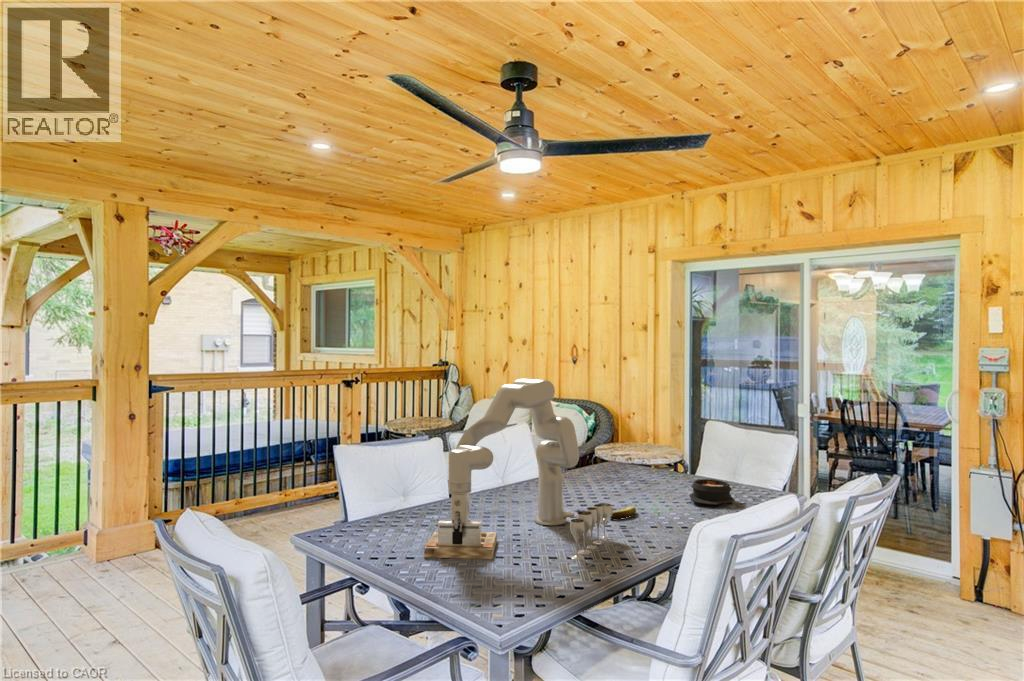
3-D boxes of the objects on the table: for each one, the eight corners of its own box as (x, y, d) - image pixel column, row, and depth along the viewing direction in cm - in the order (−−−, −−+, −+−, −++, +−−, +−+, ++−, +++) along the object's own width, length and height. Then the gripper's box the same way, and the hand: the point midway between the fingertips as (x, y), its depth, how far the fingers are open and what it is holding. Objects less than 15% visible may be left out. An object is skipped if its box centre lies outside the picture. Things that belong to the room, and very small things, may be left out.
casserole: (699, 493, 278) (699, 475, 279) (740, 499, 268) (740, 480, 268) (680, 504, 258) (680, 485, 258) (724, 511, 247) (724, 491, 247)
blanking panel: (481, 550, 195) (481, 521, 195) (480, 553, 193) (480, 524, 193) (439, 549, 196) (439, 520, 196) (437, 552, 194) (437, 523, 194)
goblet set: (582, 561, 189) (582, 519, 189) (565, 557, 192) (566, 516, 192) (615, 537, 213) (615, 500, 213) (600, 534, 216) (600, 498, 216)
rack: (496, 540, 208) (496, 531, 208) (491, 559, 190) (491, 548, 190) (435, 539, 210) (435, 530, 210) (424, 557, 192) (424, 547, 192)
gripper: (467, 493, 186) (467, 548, 186) (474, 481, 203) (474, 531, 203) (444, 493, 186) (443, 547, 186) (452, 481, 203) (452, 530, 203)
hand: (459, 539), depth 194 cm, fingers open, 9 cm apart
